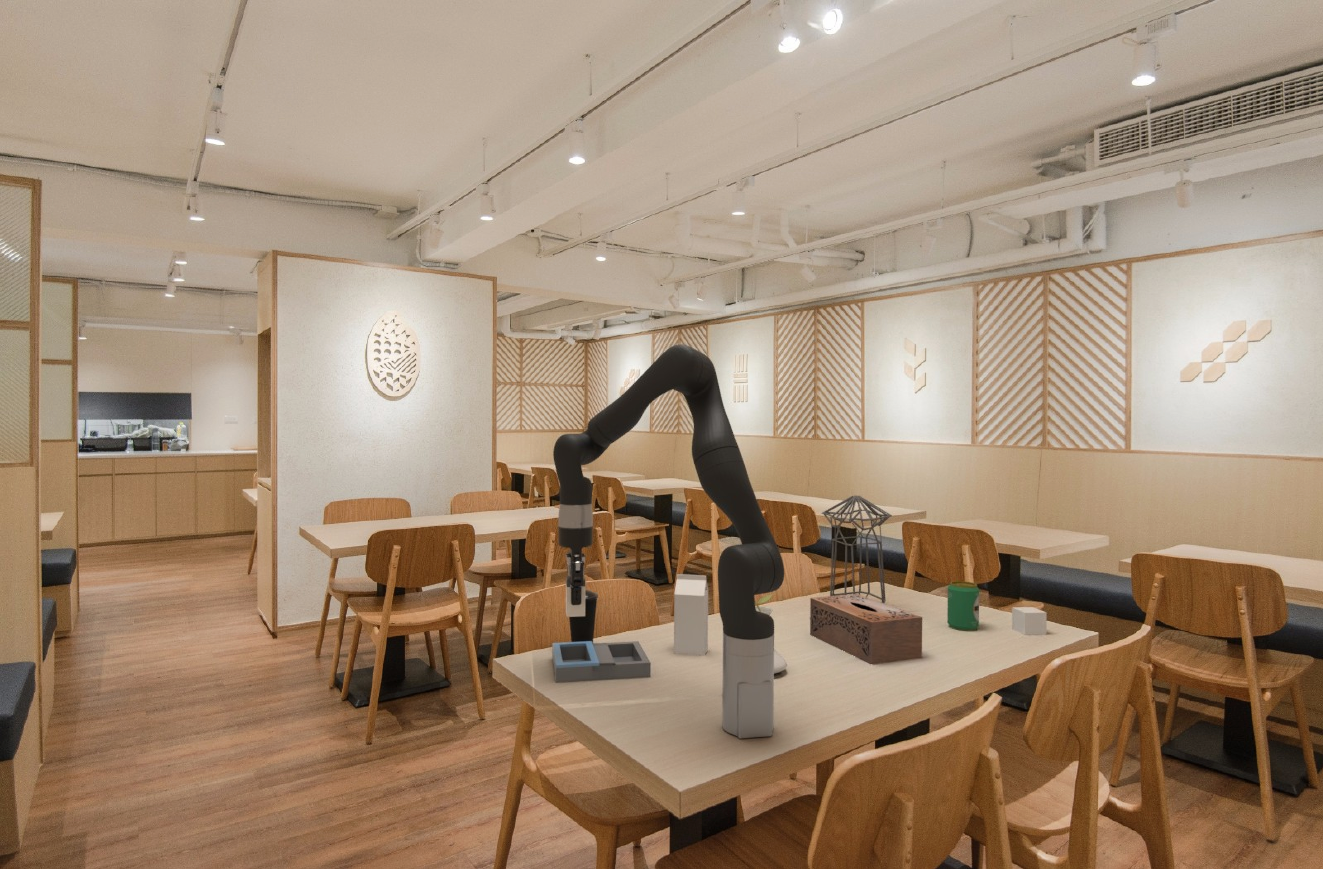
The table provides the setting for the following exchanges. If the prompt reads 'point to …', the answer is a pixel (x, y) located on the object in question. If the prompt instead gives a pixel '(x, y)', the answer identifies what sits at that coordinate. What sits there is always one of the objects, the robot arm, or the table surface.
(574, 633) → the drinking cup
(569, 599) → the gray rectangular block
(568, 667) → the divided storage tray
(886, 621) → the tissue box cover
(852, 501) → the geometric lantern
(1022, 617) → the light gray cube
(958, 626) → the beverage can
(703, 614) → the milk carton
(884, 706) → the table surface
